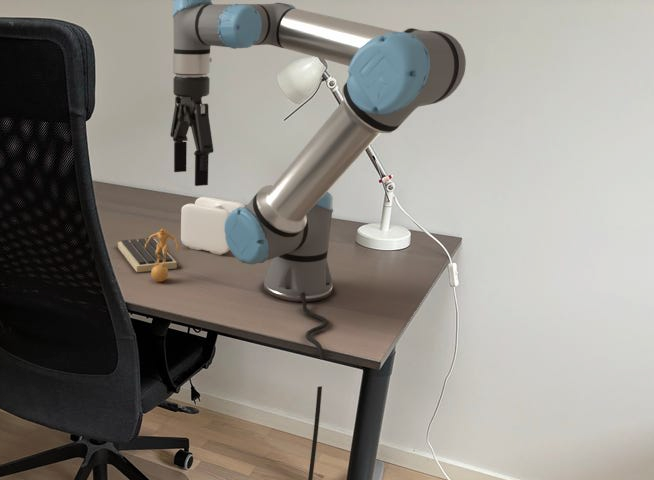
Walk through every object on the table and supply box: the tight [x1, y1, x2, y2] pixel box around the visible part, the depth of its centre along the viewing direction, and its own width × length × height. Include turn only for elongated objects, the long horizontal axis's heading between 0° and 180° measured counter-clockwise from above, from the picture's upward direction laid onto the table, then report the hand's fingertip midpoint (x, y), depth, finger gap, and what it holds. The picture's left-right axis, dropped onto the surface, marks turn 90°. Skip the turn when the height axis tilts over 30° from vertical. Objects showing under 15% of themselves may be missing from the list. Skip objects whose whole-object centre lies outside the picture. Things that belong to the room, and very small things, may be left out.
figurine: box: [144, 228, 180, 283], centre depth 170 cm, size 8×6×12 cm
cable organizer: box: [180, 196, 246, 256], centre depth 192 cm, size 15×11×12 cm
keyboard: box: [117, 237, 178, 273], centre depth 186 cm, size 19×10×2 cm, turn 18°
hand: (190, 178), depth 163 cm, fingers open, 13 cm apart
